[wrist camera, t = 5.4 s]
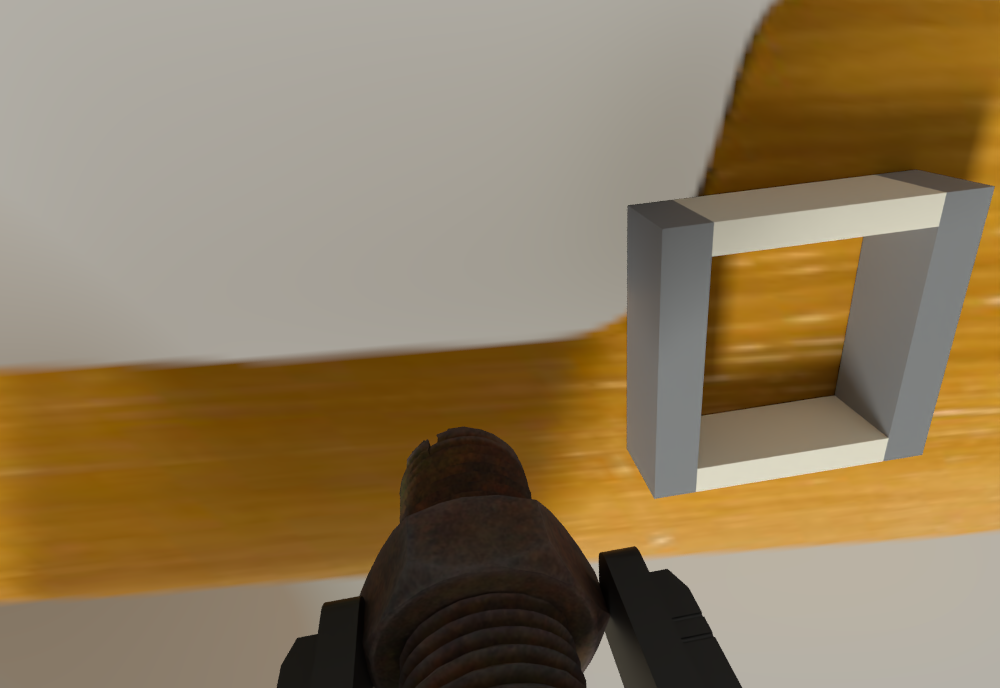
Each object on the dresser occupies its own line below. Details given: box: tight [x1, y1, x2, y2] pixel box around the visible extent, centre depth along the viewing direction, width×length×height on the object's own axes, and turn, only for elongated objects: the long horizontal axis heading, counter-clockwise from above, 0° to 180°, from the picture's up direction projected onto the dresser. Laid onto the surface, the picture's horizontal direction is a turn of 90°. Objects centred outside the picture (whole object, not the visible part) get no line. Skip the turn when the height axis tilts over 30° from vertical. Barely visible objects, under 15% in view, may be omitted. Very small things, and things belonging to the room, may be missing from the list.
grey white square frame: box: [627, 170, 995, 499], centre depth 20 cm, size 10×10×3 cm
